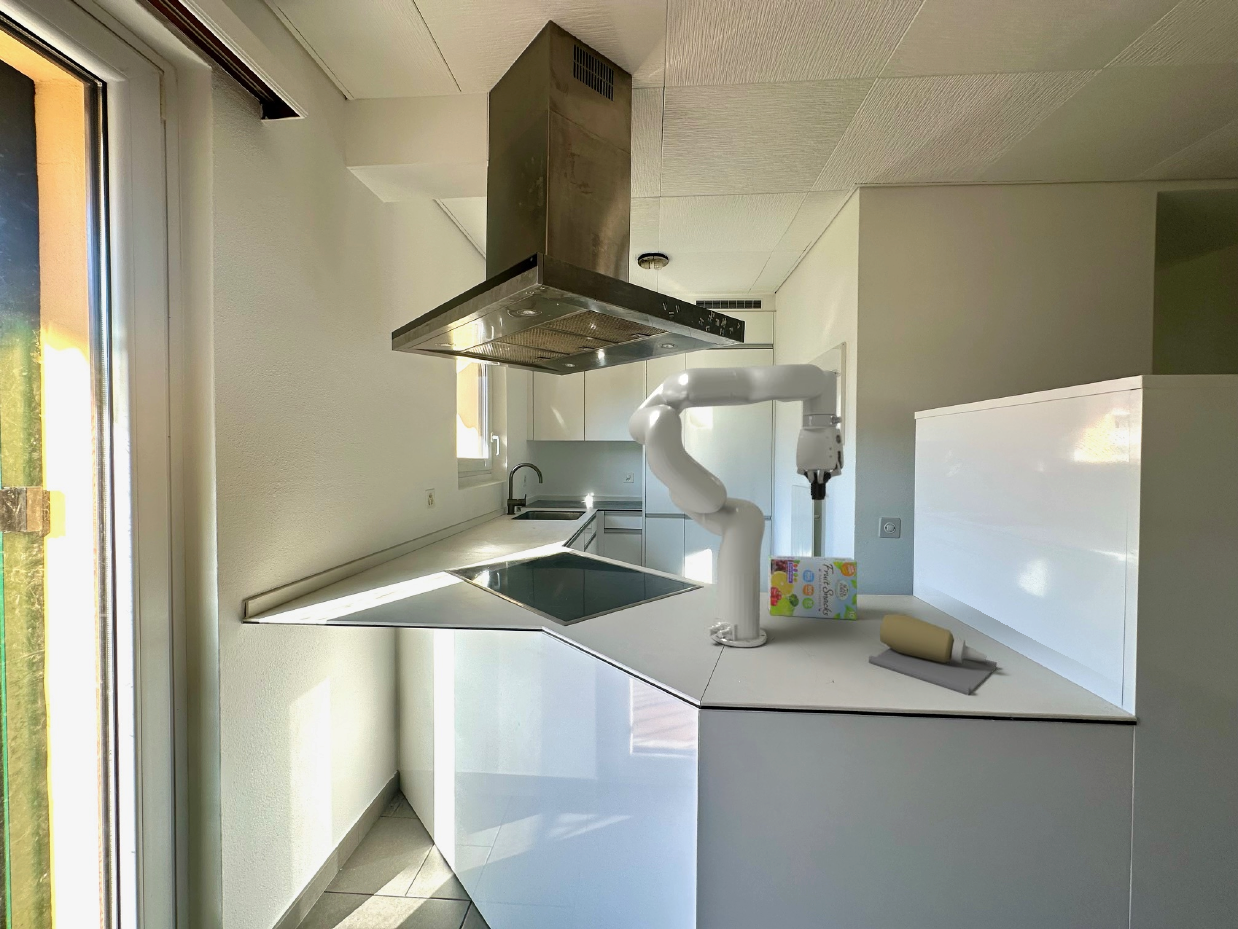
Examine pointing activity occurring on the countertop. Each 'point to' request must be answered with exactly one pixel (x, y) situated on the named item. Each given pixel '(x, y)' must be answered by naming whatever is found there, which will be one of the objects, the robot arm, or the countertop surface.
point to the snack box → (812, 587)
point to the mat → (937, 670)
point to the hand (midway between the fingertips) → (818, 499)
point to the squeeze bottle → (924, 640)
